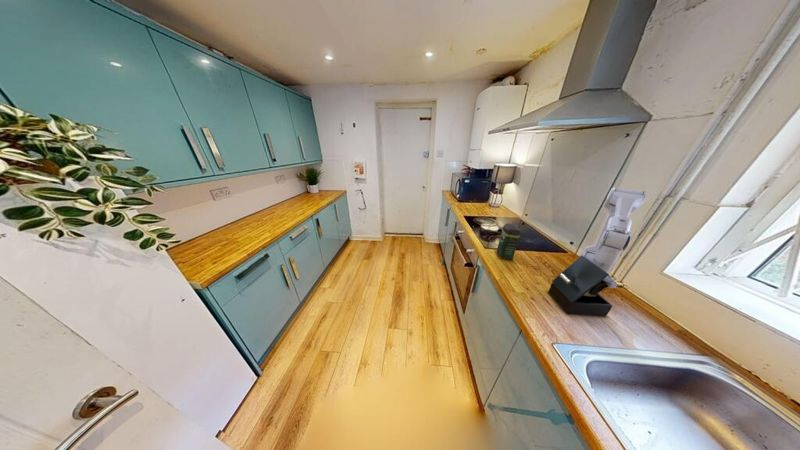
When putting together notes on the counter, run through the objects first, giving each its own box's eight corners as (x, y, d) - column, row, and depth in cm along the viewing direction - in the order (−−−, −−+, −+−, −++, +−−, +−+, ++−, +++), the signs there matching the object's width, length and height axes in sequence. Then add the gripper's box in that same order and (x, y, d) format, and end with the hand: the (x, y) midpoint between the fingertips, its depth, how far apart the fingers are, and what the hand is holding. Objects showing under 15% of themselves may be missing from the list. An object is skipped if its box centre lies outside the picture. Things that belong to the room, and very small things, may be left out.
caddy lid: (583, 255, 77) (574, 250, 76) (609, 274, 66) (599, 268, 66) (553, 281, 83) (544, 277, 82) (573, 302, 72) (563, 297, 72)
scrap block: (586, 288, 81) (591, 280, 79) (595, 296, 77) (600, 288, 75) (575, 288, 81) (580, 279, 80) (584, 295, 77) (588, 287, 76)
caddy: (582, 294, 85) (587, 284, 82) (605, 316, 74) (612, 305, 72) (547, 292, 85) (552, 282, 83) (566, 314, 75) (572, 303, 72)
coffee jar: (514, 261, 106) (524, 230, 99) (499, 259, 108) (507, 228, 100) (509, 251, 115) (517, 222, 107) (494, 250, 116) (502, 221, 108)
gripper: (576, 250, 80) (564, 277, 86) (609, 273, 67) (591, 302, 72) (594, 251, 80) (581, 278, 85) (631, 274, 66) (611, 304, 72)
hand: (587, 289), depth 79 cm, fingers closed on scrap block, 4 cm apart
